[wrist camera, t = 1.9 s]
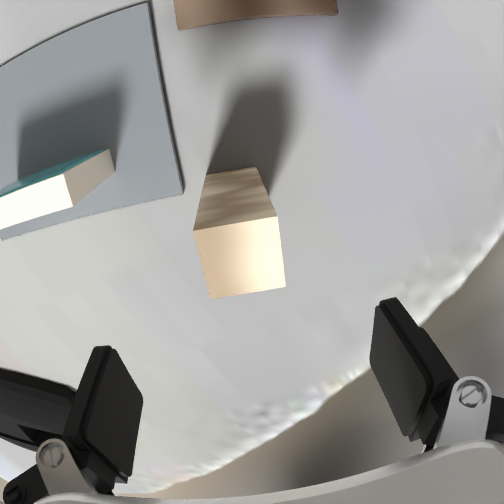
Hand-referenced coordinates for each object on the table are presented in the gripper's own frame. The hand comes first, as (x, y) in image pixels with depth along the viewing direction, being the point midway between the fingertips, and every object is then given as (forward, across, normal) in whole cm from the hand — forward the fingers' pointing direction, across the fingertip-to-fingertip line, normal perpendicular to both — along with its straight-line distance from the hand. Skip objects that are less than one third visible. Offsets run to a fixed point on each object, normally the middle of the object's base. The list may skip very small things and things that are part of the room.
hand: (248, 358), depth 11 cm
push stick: (+17, 0, -1) cm, 17 cm away
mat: (+17, +14, -10) cm, 24 cm away
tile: (+12, +14, -6) cm, 19 cm away
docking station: (+19, +45, +29) cm, 57 cm away
